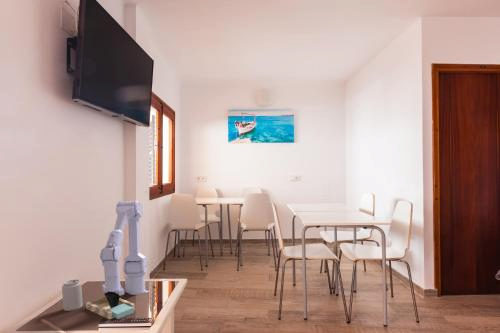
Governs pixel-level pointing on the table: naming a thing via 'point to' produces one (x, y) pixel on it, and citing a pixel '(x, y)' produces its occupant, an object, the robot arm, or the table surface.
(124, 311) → the pale teal square slab
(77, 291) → the can
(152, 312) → the table surface
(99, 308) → the tray
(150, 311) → the table surface
